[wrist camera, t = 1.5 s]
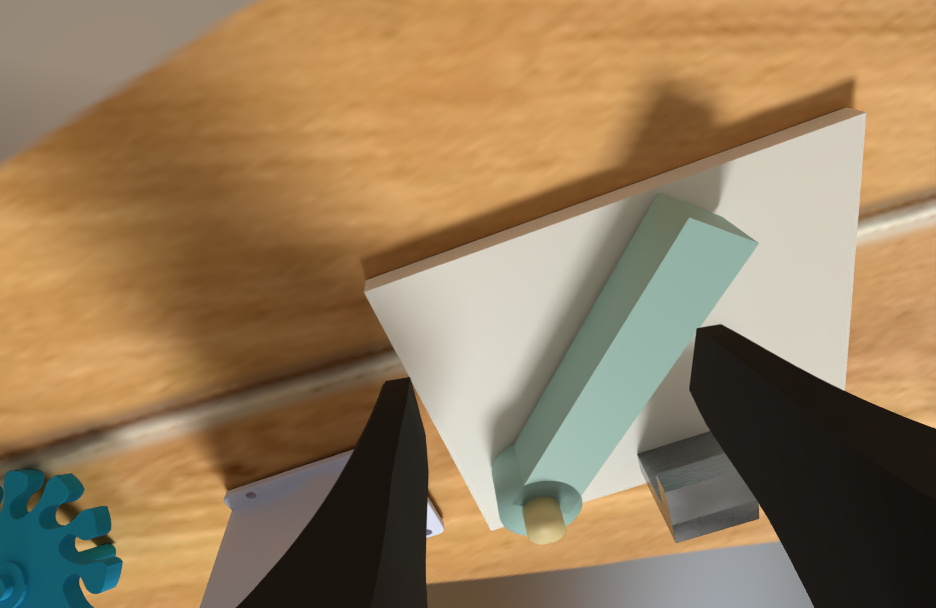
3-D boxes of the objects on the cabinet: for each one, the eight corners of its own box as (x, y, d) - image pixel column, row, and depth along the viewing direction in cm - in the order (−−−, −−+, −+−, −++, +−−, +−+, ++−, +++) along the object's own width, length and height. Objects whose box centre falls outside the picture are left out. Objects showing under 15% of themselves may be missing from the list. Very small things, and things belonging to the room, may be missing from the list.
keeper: (634, 457, 29) (676, 543, 25) (622, 408, 27) (665, 492, 23) (703, 435, 29) (759, 518, 24) (697, 384, 27) (756, 464, 22)
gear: (99, 459, 23) (90, 715, 21) (190, 449, 29) (190, 650, 27) (-106, 484, 25) (-135, 726, 22) (19, 470, 30) (5, 662, 28)
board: (488, 515, 30) (491, 530, 30) (365, 280, 22) (363, 292, 21) (829, 410, 29) (842, 422, 28) (846, 107, 20) (866, 112, 19)
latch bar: (548, 499, 28) (565, 563, 25) (480, 487, 27) (489, 552, 24) (732, 220, 20) (791, 262, 17) (647, 188, 19) (694, 227, 16)
